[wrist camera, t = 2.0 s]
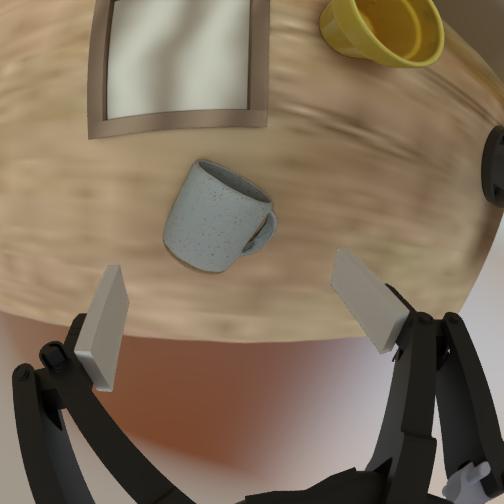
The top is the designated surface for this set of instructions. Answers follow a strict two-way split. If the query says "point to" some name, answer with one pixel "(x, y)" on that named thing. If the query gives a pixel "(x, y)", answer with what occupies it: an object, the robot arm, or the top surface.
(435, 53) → the plant pot
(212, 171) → the ceramic mug
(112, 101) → the coaster tray
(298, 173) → the top surface
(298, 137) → the top surface
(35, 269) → the top surface
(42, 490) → the robot arm
